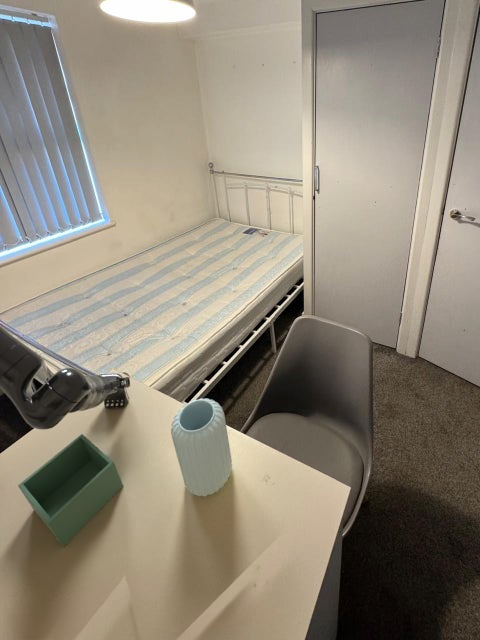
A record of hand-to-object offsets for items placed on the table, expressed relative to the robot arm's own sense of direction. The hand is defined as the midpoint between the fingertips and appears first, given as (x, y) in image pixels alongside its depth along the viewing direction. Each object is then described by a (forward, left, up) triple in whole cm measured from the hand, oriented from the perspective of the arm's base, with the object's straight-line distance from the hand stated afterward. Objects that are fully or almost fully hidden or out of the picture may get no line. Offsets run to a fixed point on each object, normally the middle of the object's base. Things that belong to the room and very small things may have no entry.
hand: (105, 389), depth 90 cm
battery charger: (-3, +2, -11) cm, 12 cm away
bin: (+13, -17, -11) cm, 24 cm away
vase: (+36, +2, -11) cm, 38 cm away
